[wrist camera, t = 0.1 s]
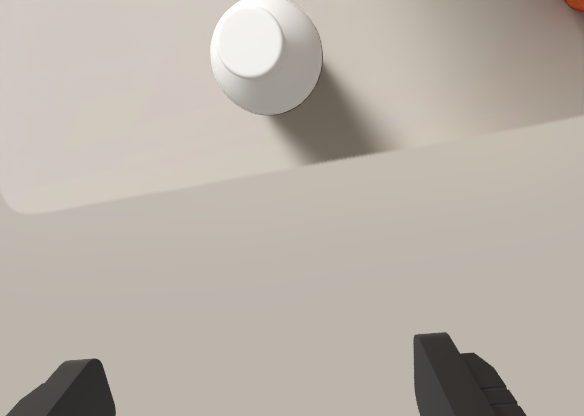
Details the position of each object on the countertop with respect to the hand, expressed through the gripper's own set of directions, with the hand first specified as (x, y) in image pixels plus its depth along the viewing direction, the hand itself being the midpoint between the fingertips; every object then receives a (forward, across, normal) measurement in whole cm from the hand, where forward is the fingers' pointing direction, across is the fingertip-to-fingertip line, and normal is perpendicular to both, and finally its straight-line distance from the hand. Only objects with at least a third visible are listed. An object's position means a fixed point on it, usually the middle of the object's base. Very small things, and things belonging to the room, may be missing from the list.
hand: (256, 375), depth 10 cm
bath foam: (+29, 0, -9) cm, 31 cm away
